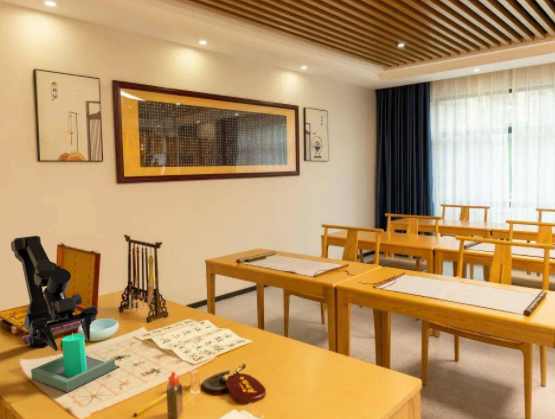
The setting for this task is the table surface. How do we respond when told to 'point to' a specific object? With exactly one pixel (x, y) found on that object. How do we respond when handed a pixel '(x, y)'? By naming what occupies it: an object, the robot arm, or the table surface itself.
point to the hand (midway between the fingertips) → (73, 345)
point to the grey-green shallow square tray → (57, 379)
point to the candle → (74, 354)
